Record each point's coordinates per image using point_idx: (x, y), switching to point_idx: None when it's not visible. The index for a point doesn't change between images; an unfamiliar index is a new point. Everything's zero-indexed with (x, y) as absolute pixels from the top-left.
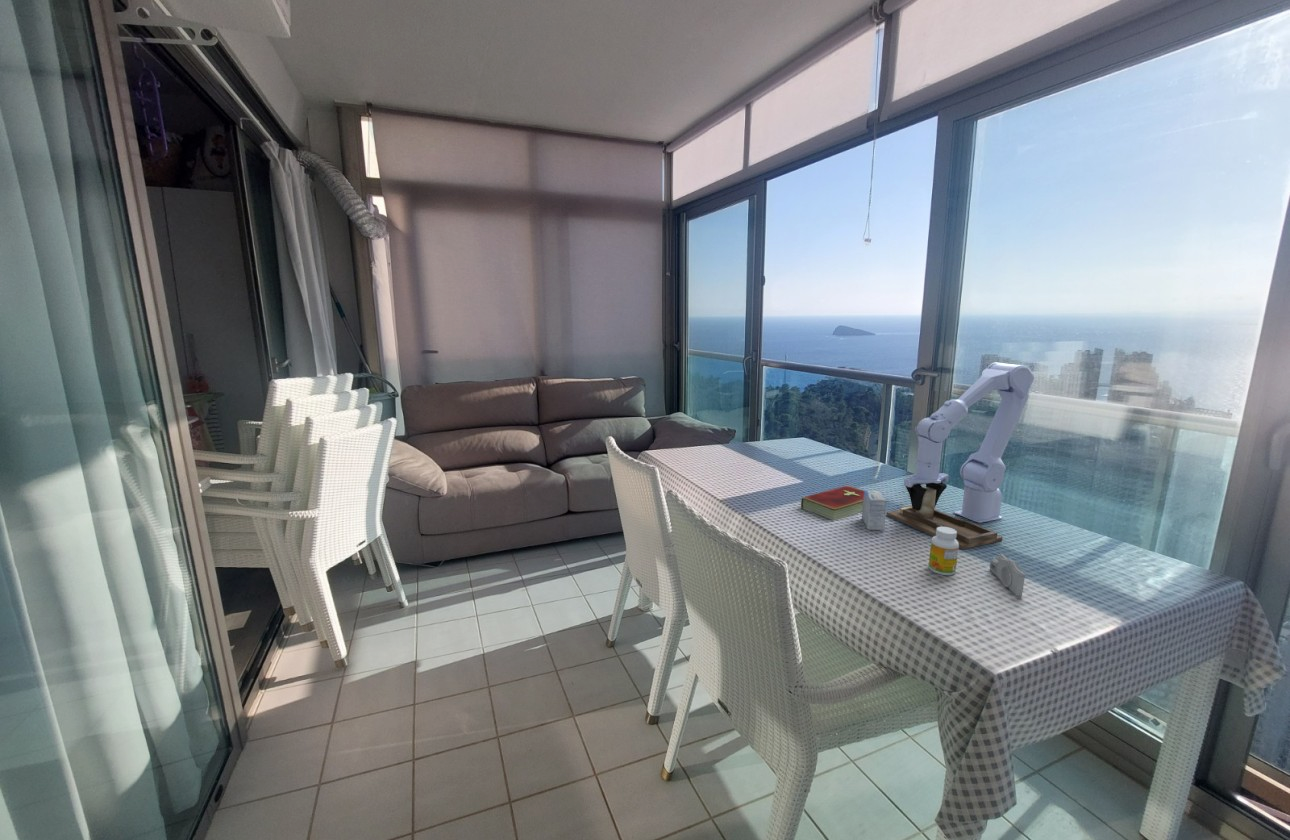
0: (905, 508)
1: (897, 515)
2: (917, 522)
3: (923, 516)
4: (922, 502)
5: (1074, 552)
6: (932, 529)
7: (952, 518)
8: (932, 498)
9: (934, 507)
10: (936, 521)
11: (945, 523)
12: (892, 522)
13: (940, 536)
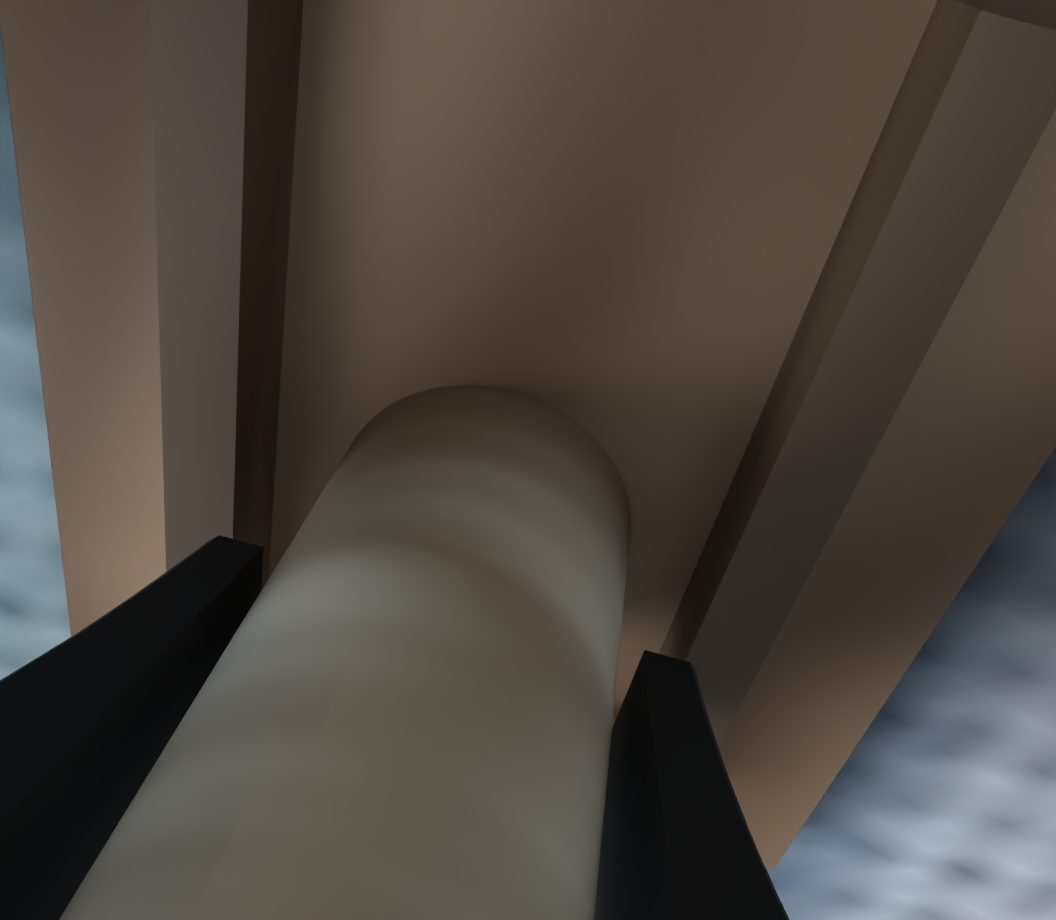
0: None
1: (801, 758)
2: (889, 473)
3: (762, 496)
4: (600, 784)
5: None
6: None
7: (254, 49)
8: (421, 765)
9: (227, 539)
10: (524, 280)
11: (470, 104)
12: (1013, 705)
13: None
